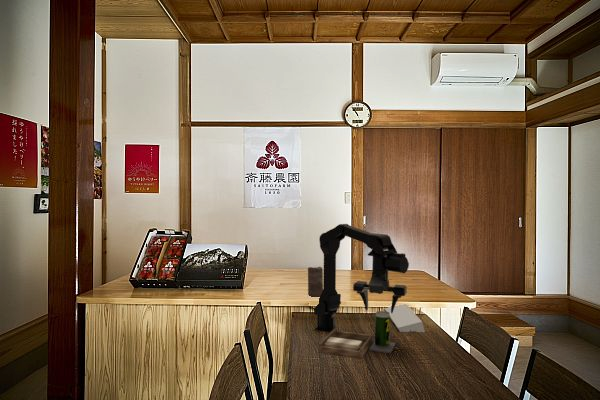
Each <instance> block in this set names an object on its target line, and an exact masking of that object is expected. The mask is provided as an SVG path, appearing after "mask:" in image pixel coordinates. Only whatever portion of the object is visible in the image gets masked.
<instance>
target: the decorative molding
mask: <svg viewBox="0 0 600 400" xmlns="http://www.w3.org/2000/svg"><path fill="white" fill-rule="evenodd" d="M383 309H384V311H387V312H389V313H390V321H391V322H392V323H394V325H395V327H396V328H397V330H398V331H399V333H402V332H404V333H412V332H416V333H425V331H426V330H425V328H424V323H423V321H422V320H421V319H420V317H419V316H417V314H416V313H415V312H414V311H413V310H412V309H411V308H410V307H409V305H408V304H404V305H399V306H395V308H394V310H393V313H391V307H388V308H384V307H383Z"/></svg>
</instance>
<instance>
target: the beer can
mask: <svg viewBox="0 0 600 400" xmlns="http://www.w3.org/2000/svg"><path fill="white" fill-rule="evenodd" d="M374 316H375V317H374V341H375V345H376V346H377V347H379V348H387V347H389V345H390V342H391V318H390V313H389V312H387V311H385V310H377V311H376V312H375V315H374Z"/></svg>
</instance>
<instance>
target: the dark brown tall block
mask: <svg viewBox="0 0 600 400" xmlns="http://www.w3.org/2000/svg"><path fill="white" fill-rule="evenodd" d="M323 281H324V268H323V267H322V266H317V267H316V266H315V267H311V266H309V267H307V296H308V295H309V296H311V297H320V295H321V293H322V291H323Z"/></svg>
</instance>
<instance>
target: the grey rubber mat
mask: <svg viewBox="0 0 600 400" xmlns="http://www.w3.org/2000/svg"><path fill="white" fill-rule="evenodd" d="M395 346H396V342H392V341H390V345H389V347H387V348H379V347H377V346H376V345H375V340H374V342H373V343H372V345H371V346H370V348H369V349H368V351H371V352H377V353H383V354H384V353H385V354H392V352H393V350H394V348H395Z"/></svg>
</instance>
